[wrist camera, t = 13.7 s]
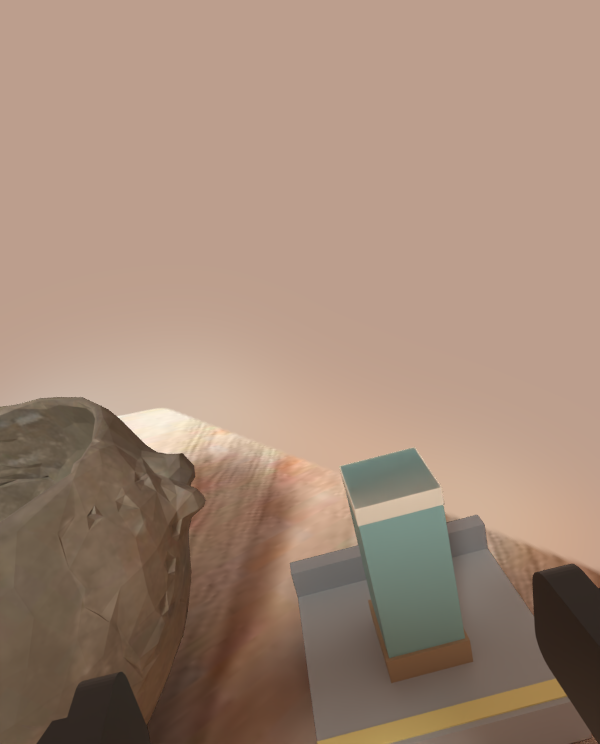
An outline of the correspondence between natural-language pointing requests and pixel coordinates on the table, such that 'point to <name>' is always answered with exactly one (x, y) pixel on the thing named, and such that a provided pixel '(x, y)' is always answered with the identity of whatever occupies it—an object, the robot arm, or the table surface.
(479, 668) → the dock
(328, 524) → the table surface
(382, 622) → the teal tall block
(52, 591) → the bowl
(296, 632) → the table surface
